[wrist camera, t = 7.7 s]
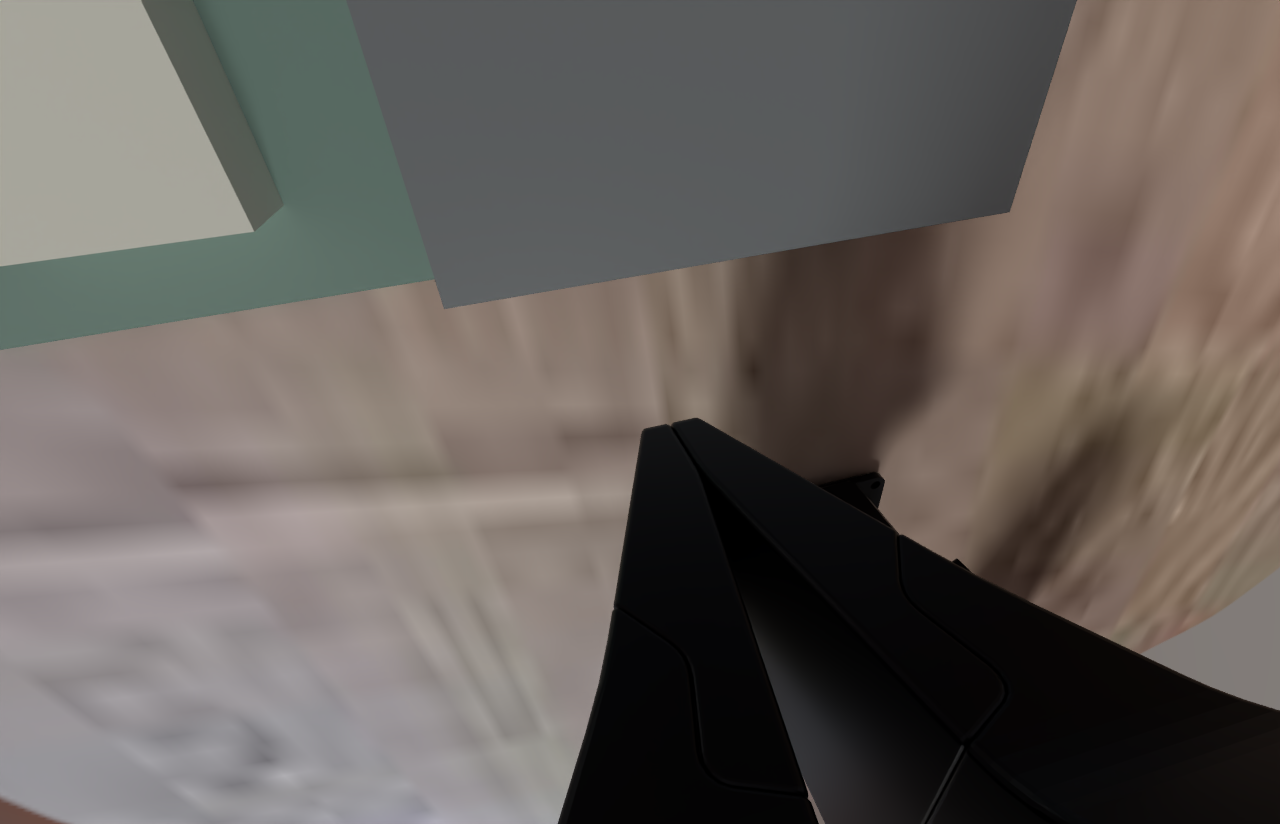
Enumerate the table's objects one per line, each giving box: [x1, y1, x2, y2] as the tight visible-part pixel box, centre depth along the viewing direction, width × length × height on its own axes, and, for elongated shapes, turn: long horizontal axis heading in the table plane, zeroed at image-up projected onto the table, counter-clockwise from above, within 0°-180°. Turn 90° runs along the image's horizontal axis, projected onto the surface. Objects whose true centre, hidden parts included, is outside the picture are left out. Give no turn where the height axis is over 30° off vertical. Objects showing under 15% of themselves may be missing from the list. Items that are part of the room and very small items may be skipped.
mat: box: [0, 0, 435, 350], centre depth 11 cm, size 14×12×1 cm
